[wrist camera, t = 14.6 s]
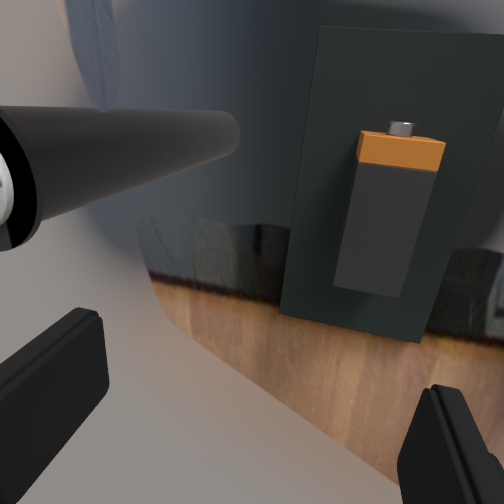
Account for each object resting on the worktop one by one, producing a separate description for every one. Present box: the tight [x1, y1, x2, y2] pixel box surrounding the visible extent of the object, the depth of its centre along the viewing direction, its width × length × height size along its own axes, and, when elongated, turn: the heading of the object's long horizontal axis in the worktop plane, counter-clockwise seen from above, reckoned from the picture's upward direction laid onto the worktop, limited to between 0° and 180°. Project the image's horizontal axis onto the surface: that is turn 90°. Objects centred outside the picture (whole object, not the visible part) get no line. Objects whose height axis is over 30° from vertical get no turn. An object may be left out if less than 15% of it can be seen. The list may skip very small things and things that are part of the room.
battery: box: [333, 121, 446, 298], centre depth 23 cm, size 4×11×4 cm, turn 174°
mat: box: [279, 26, 504, 344], centre depth 25 cm, size 12×22×1 cm, turn 174°
